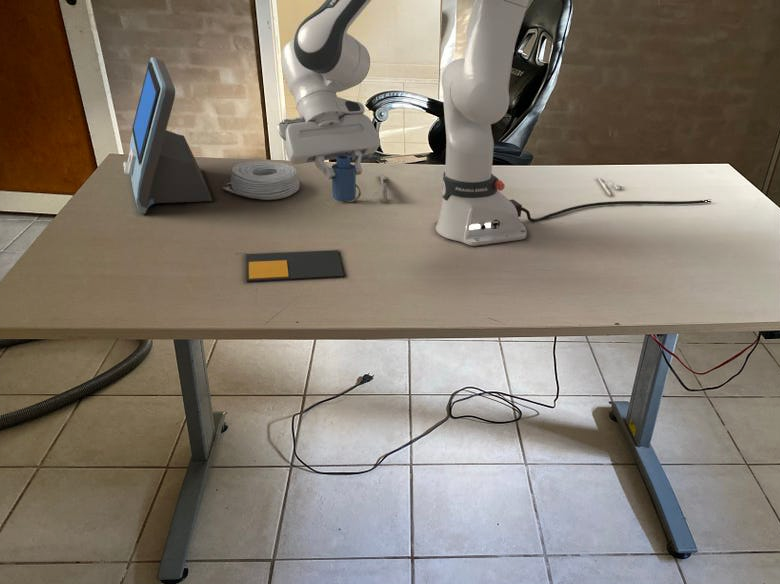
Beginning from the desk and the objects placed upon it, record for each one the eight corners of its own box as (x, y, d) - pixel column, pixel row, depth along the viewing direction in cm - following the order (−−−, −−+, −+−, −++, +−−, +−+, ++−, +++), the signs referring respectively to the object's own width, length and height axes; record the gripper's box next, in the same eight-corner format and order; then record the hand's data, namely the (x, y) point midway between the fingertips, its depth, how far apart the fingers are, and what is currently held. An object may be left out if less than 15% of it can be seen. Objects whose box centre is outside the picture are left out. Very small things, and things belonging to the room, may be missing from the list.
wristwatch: (337, 203, 192) (336, 185, 189) (336, 199, 194) (336, 181, 192) (361, 203, 193) (361, 184, 191) (360, 199, 195) (360, 181, 193)
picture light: (597, 179, 221) (598, 172, 220) (611, 180, 222) (612, 173, 221) (609, 196, 210) (610, 189, 209) (623, 196, 210) (625, 189, 209)
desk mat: (337, 251, 167) (337, 249, 167) (344, 277, 157) (343, 274, 156) (246, 255, 163) (246, 253, 162) (246, 282, 152) (246, 279, 152)
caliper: (387, 203, 194) (387, 180, 191) (383, 203, 194) (383, 180, 191) (383, 177, 211) (383, 156, 208) (379, 177, 211) (379, 156, 208)
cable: (218, 190, 195) (215, 167, 191) (268, 174, 207) (266, 153, 204) (263, 207, 187) (261, 184, 183) (313, 190, 199) (311, 168, 196)
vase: (354, 192, 157) (353, 153, 152) (357, 201, 153) (356, 160, 149) (331, 193, 156) (330, 153, 151) (333, 201, 152) (332, 161, 147)
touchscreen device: (124, 169, 203) (106, 54, 187) (198, 167, 211) (187, 55, 195) (130, 216, 176) (111, 86, 161) (215, 211, 184) (205, 86, 168)
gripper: (278, 112, 145) (303, 175, 143) (369, 102, 155) (392, 161, 154) (271, 129, 150) (294, 190, 149) (359, 118, 161) (381, 176, 159)
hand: (345, 175), depth 152 cm, fingers closed on vase, 5 cm apart
